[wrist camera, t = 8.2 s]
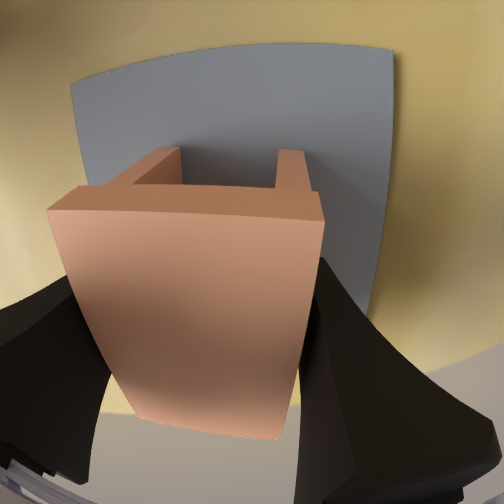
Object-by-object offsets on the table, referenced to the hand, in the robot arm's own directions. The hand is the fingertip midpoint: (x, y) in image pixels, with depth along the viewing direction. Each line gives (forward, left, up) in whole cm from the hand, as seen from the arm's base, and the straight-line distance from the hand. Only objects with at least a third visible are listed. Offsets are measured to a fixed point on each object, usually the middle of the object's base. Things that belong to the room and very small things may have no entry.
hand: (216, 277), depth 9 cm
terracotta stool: (0, 0, -3) cm, 3 cm away
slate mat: (0, 0, -3) cm, 3 cm away
